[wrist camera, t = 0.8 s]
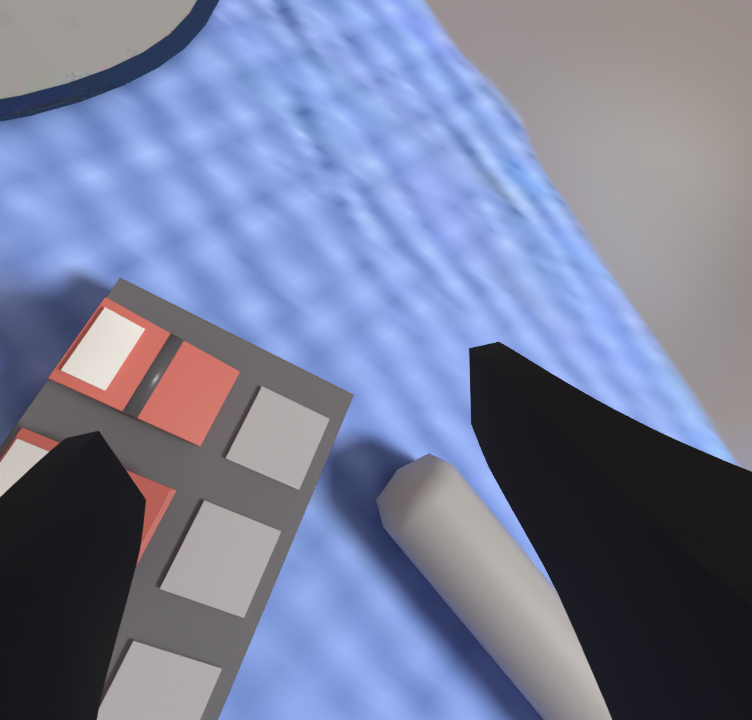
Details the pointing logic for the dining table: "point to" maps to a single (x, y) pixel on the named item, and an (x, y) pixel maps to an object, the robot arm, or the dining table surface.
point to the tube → (491, 587)
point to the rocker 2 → (36, 446)
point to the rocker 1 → (146, 373)
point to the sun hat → (86, 47)
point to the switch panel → (204, 514)
